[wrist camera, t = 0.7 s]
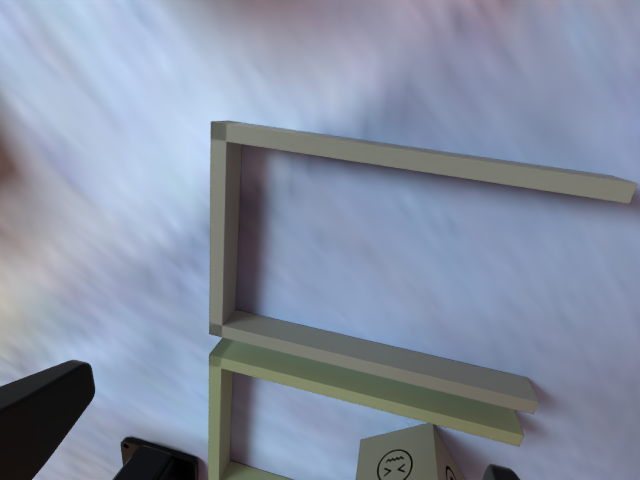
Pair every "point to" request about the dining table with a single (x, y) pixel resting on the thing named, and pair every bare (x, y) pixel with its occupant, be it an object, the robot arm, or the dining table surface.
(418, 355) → the olive u-shaped frame
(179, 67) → the dining table surface
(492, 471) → the robot arm
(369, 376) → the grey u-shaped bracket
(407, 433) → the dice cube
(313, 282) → the dining table surface
